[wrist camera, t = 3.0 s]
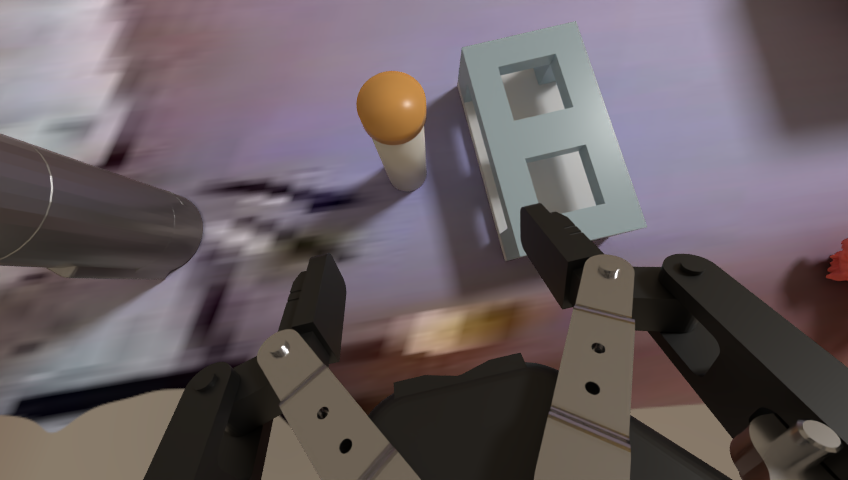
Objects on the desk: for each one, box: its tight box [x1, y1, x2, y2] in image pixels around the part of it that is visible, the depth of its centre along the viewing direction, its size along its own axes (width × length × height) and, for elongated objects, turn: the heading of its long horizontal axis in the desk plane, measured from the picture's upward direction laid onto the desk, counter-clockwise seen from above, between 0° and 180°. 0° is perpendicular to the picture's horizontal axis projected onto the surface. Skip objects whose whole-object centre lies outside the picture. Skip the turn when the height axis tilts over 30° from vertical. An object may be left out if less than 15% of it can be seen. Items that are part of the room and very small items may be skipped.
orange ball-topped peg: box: [357, 71, 427, 192], centre depth 29 cm, size 5×5×14 cm
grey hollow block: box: [457, 21, 647, 261], centre depth 32 cm, size 22×12×6 cm, turn 13°
